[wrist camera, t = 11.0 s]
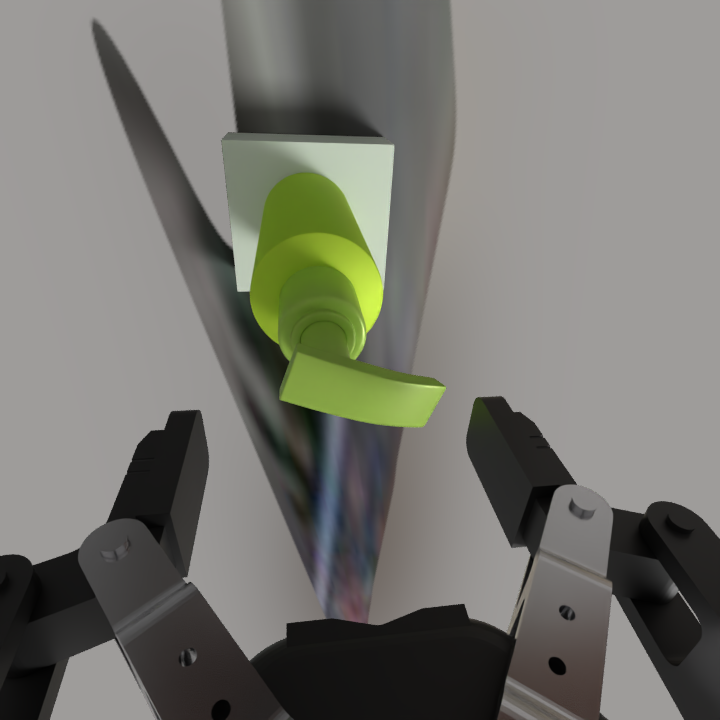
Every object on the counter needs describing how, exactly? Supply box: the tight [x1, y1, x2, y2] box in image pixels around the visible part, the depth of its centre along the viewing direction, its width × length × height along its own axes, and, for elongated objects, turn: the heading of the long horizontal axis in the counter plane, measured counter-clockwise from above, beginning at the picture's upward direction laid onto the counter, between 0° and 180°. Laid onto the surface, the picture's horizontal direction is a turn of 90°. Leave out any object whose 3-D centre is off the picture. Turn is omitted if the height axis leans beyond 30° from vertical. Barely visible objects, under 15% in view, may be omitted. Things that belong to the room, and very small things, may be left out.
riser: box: [221, 133, 394, 291], centre depth 33 cm, size 10×11×4 cm
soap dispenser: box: [250, 173, 446, 427], centre depth 23 cm, size 6×7×20 cm
